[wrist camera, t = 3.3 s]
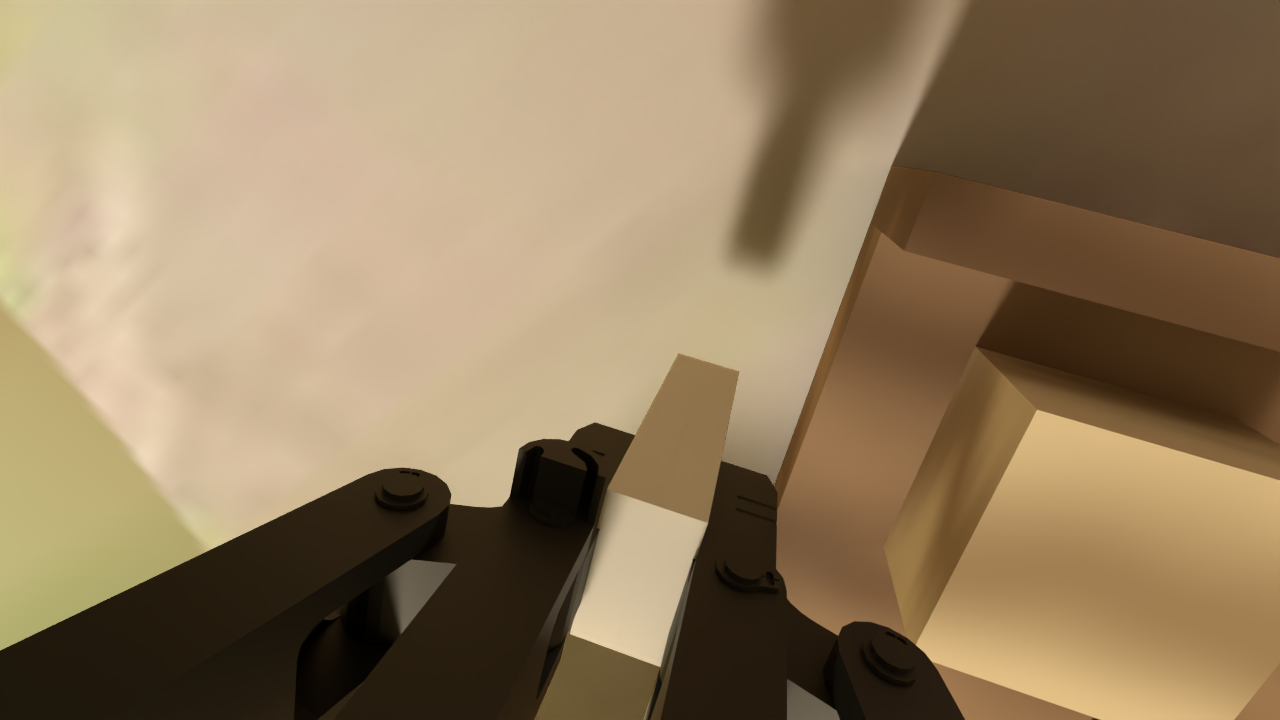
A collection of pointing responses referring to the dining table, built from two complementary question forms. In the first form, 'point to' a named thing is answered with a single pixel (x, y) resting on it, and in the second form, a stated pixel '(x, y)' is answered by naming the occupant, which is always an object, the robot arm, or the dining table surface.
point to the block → (1093, 546)
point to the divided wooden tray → (1014, 326)
